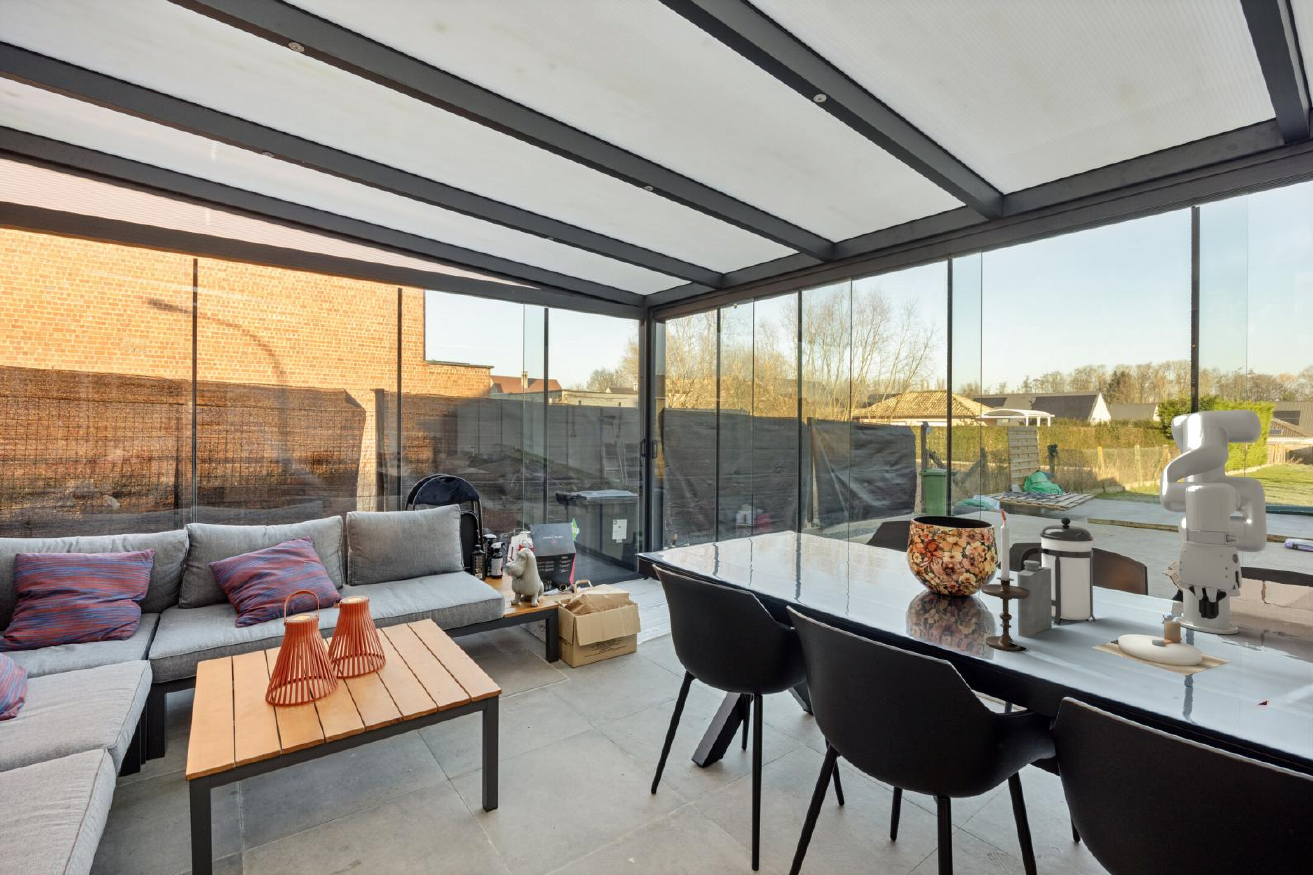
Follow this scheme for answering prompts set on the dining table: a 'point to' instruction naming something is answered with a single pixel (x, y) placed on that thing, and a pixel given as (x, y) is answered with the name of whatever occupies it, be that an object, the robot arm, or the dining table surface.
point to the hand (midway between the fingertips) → (1208, 617)
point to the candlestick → (1005, 596)
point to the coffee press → (1067, 569)
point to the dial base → (1181, 669)
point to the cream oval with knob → (1162, 647)
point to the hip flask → (1034, 599)
